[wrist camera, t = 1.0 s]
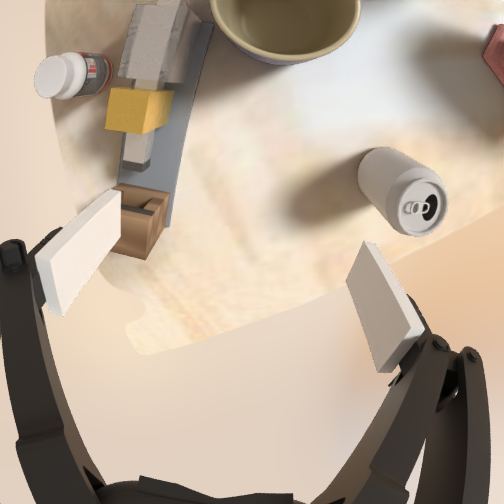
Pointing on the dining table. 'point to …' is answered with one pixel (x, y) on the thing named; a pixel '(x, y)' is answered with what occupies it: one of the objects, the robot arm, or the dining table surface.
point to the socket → (140, 219)
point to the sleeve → (160, 43)
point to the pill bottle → (72, 75)
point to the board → (170, 130)
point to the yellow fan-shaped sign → (496, 53)
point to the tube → (140, 114)
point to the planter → (287, 27)
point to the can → (403, 191)
